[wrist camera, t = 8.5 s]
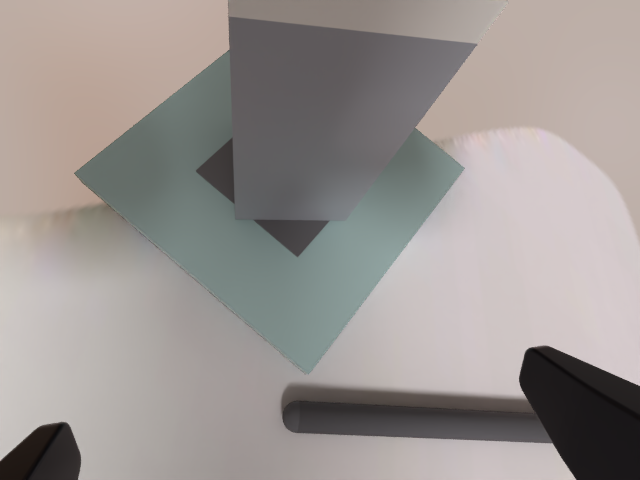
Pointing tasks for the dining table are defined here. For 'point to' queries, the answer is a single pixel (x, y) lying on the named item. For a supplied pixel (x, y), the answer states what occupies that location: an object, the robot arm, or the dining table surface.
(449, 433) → the dark grey bar
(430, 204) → the teal flat square slab
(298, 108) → the light grey rectangular block
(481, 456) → the dining table surface
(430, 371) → the dining table surface
